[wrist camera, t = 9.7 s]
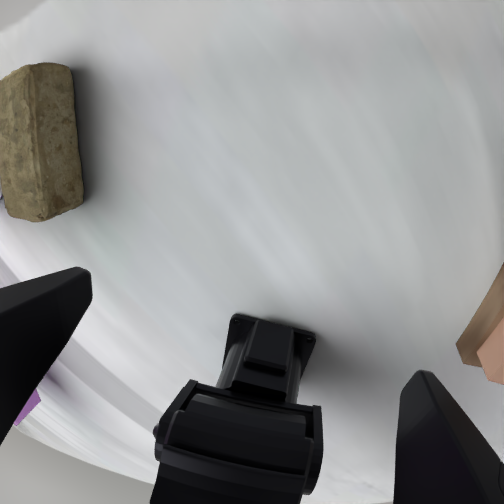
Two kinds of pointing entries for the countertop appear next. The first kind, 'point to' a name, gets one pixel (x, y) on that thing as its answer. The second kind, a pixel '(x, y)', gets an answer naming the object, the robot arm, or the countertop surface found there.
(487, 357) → the top slab
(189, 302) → the countertop surface
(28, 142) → the stone block
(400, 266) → the countertop surface
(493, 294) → the base slab
